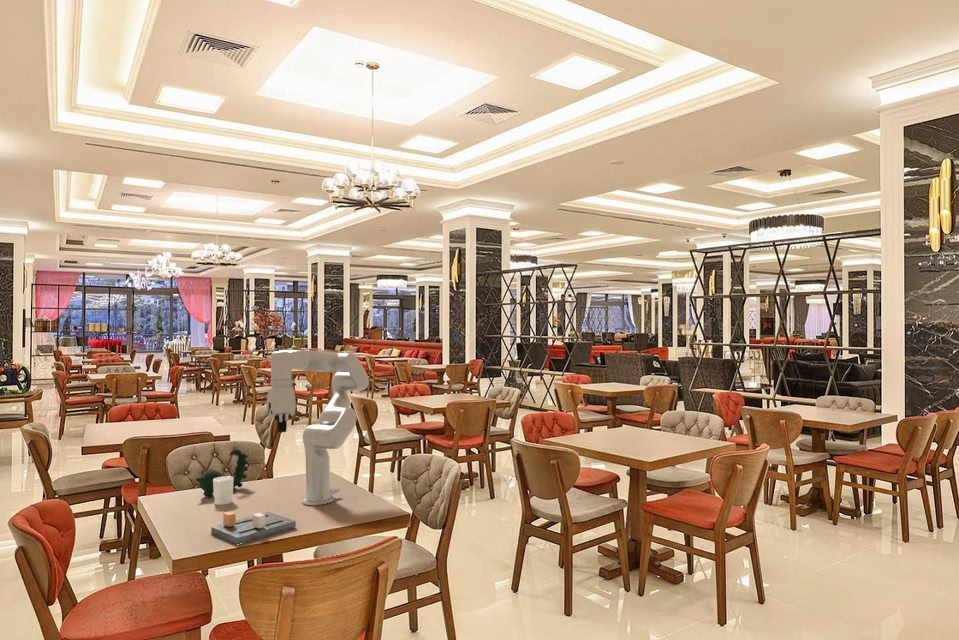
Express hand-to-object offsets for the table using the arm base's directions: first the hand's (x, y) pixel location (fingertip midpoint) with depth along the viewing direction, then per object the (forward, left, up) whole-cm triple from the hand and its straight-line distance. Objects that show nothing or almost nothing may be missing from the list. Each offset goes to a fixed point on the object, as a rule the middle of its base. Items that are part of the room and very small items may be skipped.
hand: (282, 431), depth 236 cm
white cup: (+5, -36, -32) cm, 49 cm away
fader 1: (+22, +2, -30) cm, 38 cm away
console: (+16, +7, -32) cm, 37 cm away
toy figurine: (-2, -51, -32) cm, 60 cm away
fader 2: (+17, +12, -30) cm, 37 cm away
